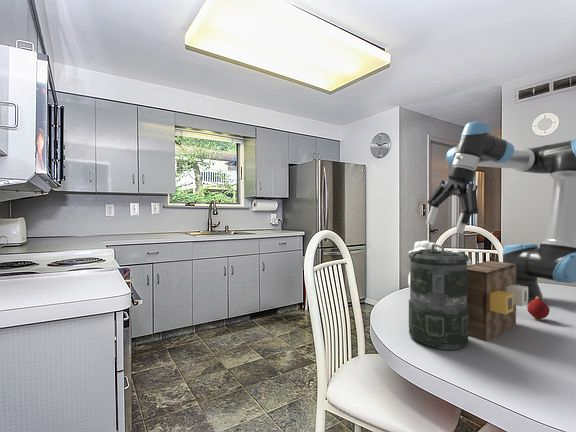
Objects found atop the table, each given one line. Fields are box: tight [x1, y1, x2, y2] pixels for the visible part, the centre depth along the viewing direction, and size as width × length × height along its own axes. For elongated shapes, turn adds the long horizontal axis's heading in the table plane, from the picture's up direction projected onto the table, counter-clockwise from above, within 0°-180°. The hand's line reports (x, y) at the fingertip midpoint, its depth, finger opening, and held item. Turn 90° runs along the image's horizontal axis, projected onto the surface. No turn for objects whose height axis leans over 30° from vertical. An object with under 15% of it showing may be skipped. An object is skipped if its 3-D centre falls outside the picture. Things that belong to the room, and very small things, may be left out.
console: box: [467, 260, 517, 342], centre depth 98 cm, size 22×8×20 cm, turn 125°
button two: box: [490, 290, 513, 314], centre depth 90 cm, size 5×5×5 cm
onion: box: [526, 297, 550, 321], centre depth 105 cm, size 6×6×8 cm
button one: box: [506, 284, 529, 307], centre depth 97 cm, size 5×5×5 cm
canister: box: [408, 243, 470, 351], centre depth 90 cm, size 16×16×28 cm
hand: (443, 228), depth 106 cm, fingers open, 13 cm apart
